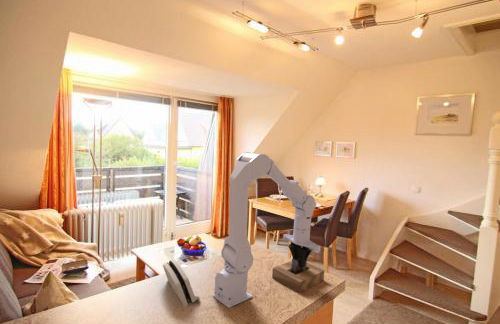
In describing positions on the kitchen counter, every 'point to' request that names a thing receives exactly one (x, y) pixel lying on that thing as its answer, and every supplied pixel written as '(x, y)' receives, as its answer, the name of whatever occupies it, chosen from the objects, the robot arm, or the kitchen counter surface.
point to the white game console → (180, 282)
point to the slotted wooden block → (298, 276)
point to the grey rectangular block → (297, 266)
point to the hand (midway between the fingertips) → (299, 265)
